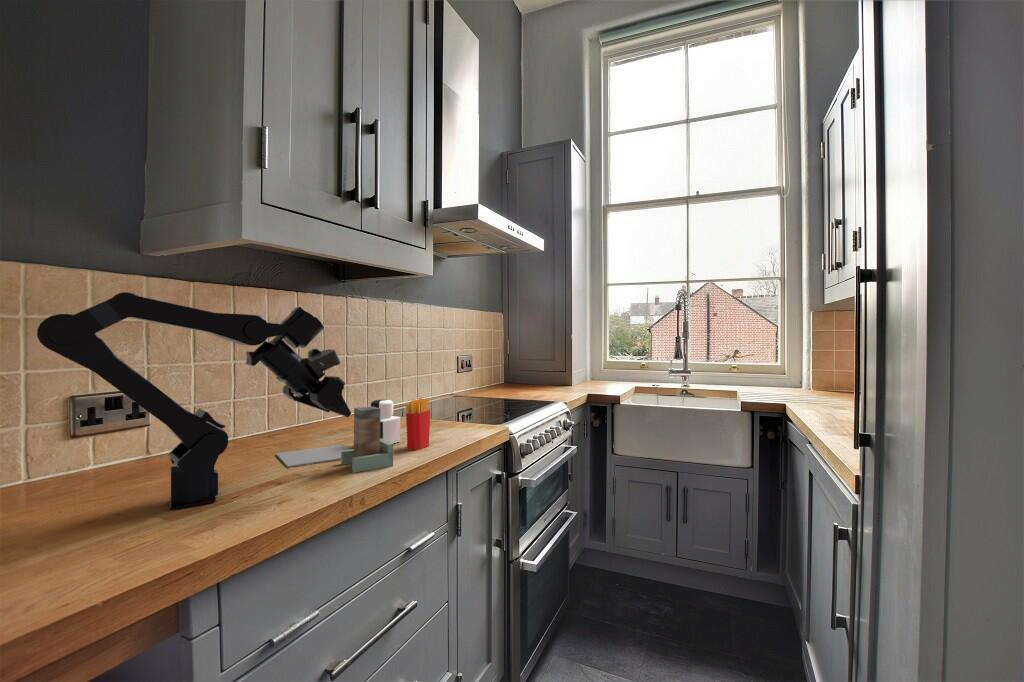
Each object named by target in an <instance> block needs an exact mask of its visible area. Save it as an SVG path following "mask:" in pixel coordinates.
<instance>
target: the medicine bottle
mask: <svg viewBox="0 0 1024 682" xmlns="http://www.w3.org/2000/svg"><path fill="white" fill-rule="evenodd" d="M370 407H376V408H379V409H380V438H381V439H383V440H385V441H387V442H390V443H392V444H393V445H394V443H395V444H398V443H397V442H399V443H400V442H401V417H400V416H394V401H392V400H391V399H375V400H373V401H371V402H370Z"/></svg>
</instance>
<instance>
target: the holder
mask: <svg viewBox="0 0 1024 682" xmlns="http://www.w3.org/2000/svg"><path fill="white" fill-rule="evenodd" d="M340 464H341V465H343V466H345V464H346V465H350V464H351V473H352V474H353V473H355V472H356V473H361V472H360V471H362V472H367V471H373V470H378V468H379V469H384V468H383V467H385V468H390V467H389V466H391V467H393V466H394V444H392V443H390V442H387V441H385V440H383V439H381V438H380V454H374V455H367V456H361V457H354V448H353V449H352V448H351V449H350V450H344V451H341V460H340ZM372 469H373V470H372ZM356 473H355V474H356Z"/></svg>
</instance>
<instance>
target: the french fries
mask: <svg viewBox="0 0 1024 682" xmlns="http://www.w3.org/2000/svg"><path fill="white" fill-rule="evenodd" d="M429 401H430V399H429V398H423V397H420V398H418V399H412V400H411V401H410V403H409V402H407V403H405V409H406V412H405V418H406V421H405V422H406V445H407V447H406V448H407V450H408V449H412V450H411V451H417V450H416V449H420V450H422V448H423V449H425V448H427V447H426V446H428V445H429V446H430V426H431V409H429V404H430V403H429ZM429 446H428V447H429ZM424 447H425V448H424Z"/></svg>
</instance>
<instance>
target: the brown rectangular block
mask: <svg viewBox="0 0 1024 682" xmlns="http://www.w3.org/2000/svg"><path fill="white" fill-rule="evenodd" d="M353 449H354V457H361V456H367V455H374V454H380V409H379V408H376V407H371V406H364V407H363V406H362V407H354V408H353Z"/></svg>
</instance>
